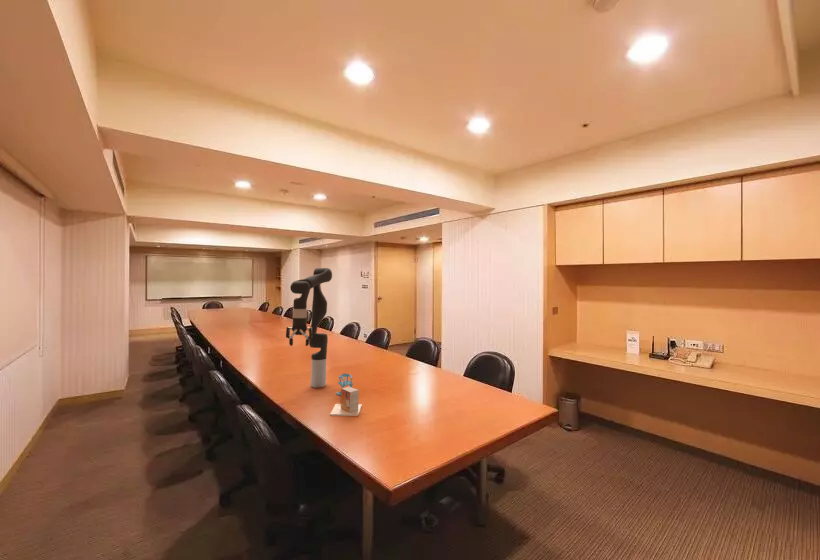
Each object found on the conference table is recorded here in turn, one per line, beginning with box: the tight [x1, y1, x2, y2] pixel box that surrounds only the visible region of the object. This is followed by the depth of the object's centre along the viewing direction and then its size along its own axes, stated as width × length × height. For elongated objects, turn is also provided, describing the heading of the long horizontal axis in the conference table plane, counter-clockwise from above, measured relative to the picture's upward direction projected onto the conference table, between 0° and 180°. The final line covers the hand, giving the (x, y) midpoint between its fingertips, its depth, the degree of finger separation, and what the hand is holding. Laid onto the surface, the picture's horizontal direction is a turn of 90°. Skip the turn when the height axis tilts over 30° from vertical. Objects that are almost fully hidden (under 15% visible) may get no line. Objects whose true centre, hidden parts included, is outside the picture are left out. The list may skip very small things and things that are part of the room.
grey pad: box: [329, 403, 363, 417], centre depth 175 cm, size 14×14×1 cm
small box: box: [340, 386, 360, 413], centre depth 174 cm, size 8×6×10 cm
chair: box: [336, 373, 354, 396], centre depth 199 cm, size 8×8×12 cm
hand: (299, 345), depth 190 cm, fingers open, 8 cm apart
